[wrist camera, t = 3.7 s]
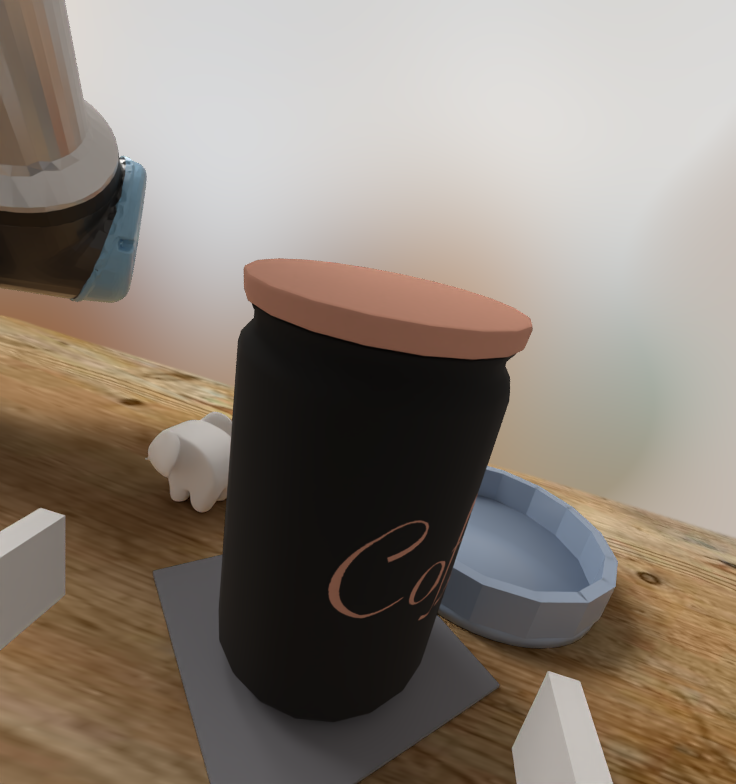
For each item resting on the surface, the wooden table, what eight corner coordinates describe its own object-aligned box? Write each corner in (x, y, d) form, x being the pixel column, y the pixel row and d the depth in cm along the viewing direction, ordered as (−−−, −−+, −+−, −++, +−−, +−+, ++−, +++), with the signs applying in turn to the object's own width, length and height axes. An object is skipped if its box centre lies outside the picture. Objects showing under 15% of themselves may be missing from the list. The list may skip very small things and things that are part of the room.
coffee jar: (304, 806, 16) (410, 343, 9) (177, 608, 22) (186, 249, 16) (459, 642, 24) (579, 322, 17) (331, 530, 30) (382, 265, 23)
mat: (152, 573, 24) (153, 570, 24) (354, 525, 33) (355, 523, 33) (233, 867, 14) (233, 863, 14) (498, 687, 22) (499, 684, 22)
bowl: (336, 508, 34) (345, 470, 33) (473, 480, 44) (483, 450, 43) (499, 695, 22) (521, 643, 21) (638, 598, 32) (658, 560, 31)
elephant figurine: (184, 460, 36) (191, 395, 34) (265, 495, 34) (276, 427, 32) (113, 495, 30) (116, 418, 28) (206, 541, 28) (216, 460, 26)
